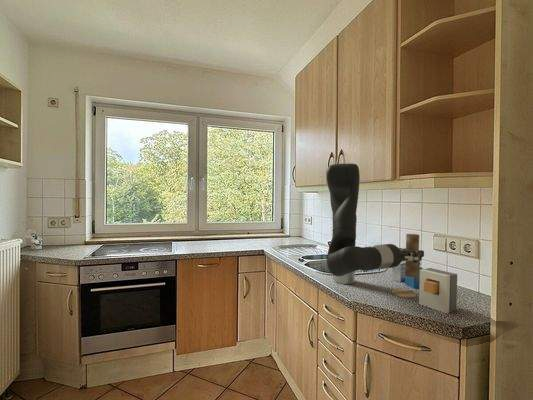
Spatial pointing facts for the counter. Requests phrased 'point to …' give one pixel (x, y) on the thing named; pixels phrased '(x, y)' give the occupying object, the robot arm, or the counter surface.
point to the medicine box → (399, 272)
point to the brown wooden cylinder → (413, 245)
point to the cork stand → (404, 293)
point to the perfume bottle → (413, 279)
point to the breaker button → (431, 286)
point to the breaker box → (447, 290)
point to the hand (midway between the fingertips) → (416, 252)
